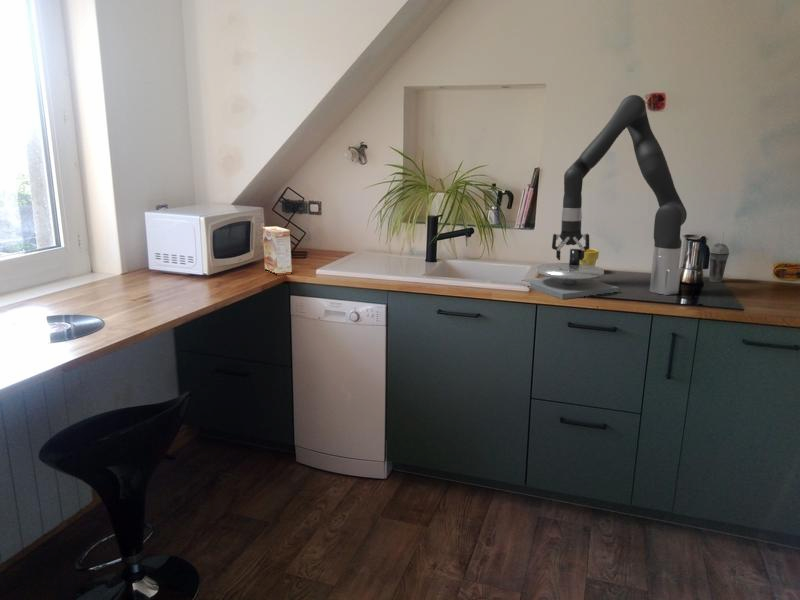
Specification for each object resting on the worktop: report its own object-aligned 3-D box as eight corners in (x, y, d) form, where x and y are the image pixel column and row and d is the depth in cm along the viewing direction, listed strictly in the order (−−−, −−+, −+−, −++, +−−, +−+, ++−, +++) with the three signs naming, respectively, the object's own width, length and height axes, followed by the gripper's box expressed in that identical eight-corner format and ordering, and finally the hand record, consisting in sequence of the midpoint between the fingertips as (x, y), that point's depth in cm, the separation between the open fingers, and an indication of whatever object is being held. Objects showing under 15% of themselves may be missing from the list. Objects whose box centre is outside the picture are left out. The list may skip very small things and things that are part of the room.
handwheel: (617, 274, 230) (619, 254, 228) (574, 282, 216) (575, 261, 214) (565, 264, 250) (566, 246, 248) (522, 271, 236) (523, 252, 234)
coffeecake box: (264, 270, 270) (261, 227, 266) (279, 268, 274) (276, 225, 270) (277, 276, 258) (274, 230, 254) (292, 274, 262) (290, 229, 257)
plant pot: (576, 274, 260) (577, 252, 258) (569, 269, 270) (571, 248, 268) (600, 274, 260) (602, 252, 258) (592, 269, 270) (594, 248, 268)
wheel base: (618, 292, 228) (619, 277, 226) (562, 299, 218) (563, 283, 217) (573, 279, 251) (574, 265, 250) (521, 284, 241) (521, 270, 240)
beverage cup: (701, 280, 249) (707, 231, 244) (713, 278, 252) (719, 230, 247) (717, 283, 243) (724, 234, 238) (729, 281, 246) (736, 233, 241)
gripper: (589, 218, 240) (587, 258, 244) (552, 218, 242) (550, 258, 246) (591, 220, 233) (589, 261, 237) (553, 220, 235) (552, 261, 239)
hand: (569, 259), depth 241 cm, fingers open, 8 cm apart
